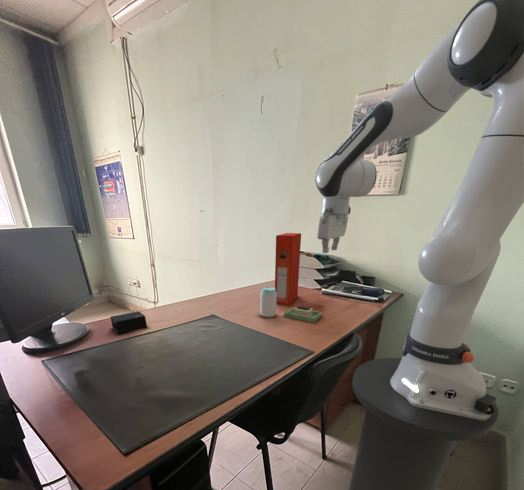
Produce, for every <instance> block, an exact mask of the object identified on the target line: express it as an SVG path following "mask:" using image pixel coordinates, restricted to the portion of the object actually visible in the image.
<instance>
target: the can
mask: <svg viewBox="0 0 524 490" xmlns="http://www.w3.org/2000/svg"><path fill="white" fill-rule="evenodd" d="M259 297H260V298H259V306H260V307H259V309H260V310H259V315H260V316H261V317H263V318H273V317H275V316H276V315H277V304H276V299H277V292H276V291H275V287H271V286H265V287H262V288H261V290H260V294H259Z"/></svg>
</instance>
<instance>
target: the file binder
mask: <svg viewBox="0 0 524 490" xmlns="http://www.w3.org/2000/svg"><path fill="white" fill-rule="evenodd" d="M301 243H302V233H300V232H286V233H281V234H277V235H275V261H274V262H275V264H274V265H275V266H274V267H275V268H274V288H275V291H276V292H277V299H276V305H280V306H281V305H282V306H290V305H291V304H292V303H293V302H294V301H295V300H296V299H297V297H298V295H299V294H298V293H299V277H300V264H301V263H300V262H301V261H300V260H301V246H302V245H301Z"/></svg>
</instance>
